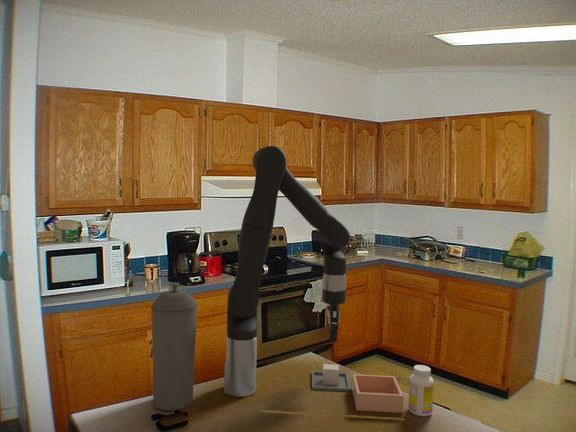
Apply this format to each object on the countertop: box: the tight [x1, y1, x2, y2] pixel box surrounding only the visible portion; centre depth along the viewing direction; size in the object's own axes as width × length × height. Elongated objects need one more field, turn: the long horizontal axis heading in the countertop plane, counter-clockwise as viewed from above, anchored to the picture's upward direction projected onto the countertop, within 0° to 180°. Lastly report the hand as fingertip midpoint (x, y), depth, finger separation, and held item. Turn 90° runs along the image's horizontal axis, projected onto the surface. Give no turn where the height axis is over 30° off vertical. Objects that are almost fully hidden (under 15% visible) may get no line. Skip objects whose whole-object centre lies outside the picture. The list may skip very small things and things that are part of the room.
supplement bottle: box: [408, 364, 435, 417], centre depth 129 cm, size 7×7×13 cm
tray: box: [311, 370, 352, 393], centre depth 146 cm, size 12×12×1 cm
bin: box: [351, 373, 404, 414], centre depth 134 cm, size 13×13×6 cm
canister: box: [150, 281, 198, 412], centre depth 129 cm, size 13×13×35 cm
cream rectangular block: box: [322, 363, 340, 385], centre depth 146 cm, size 5×4×5 cm
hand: (332, 337), depth 145 cm, fingers open, 8 cm apart
